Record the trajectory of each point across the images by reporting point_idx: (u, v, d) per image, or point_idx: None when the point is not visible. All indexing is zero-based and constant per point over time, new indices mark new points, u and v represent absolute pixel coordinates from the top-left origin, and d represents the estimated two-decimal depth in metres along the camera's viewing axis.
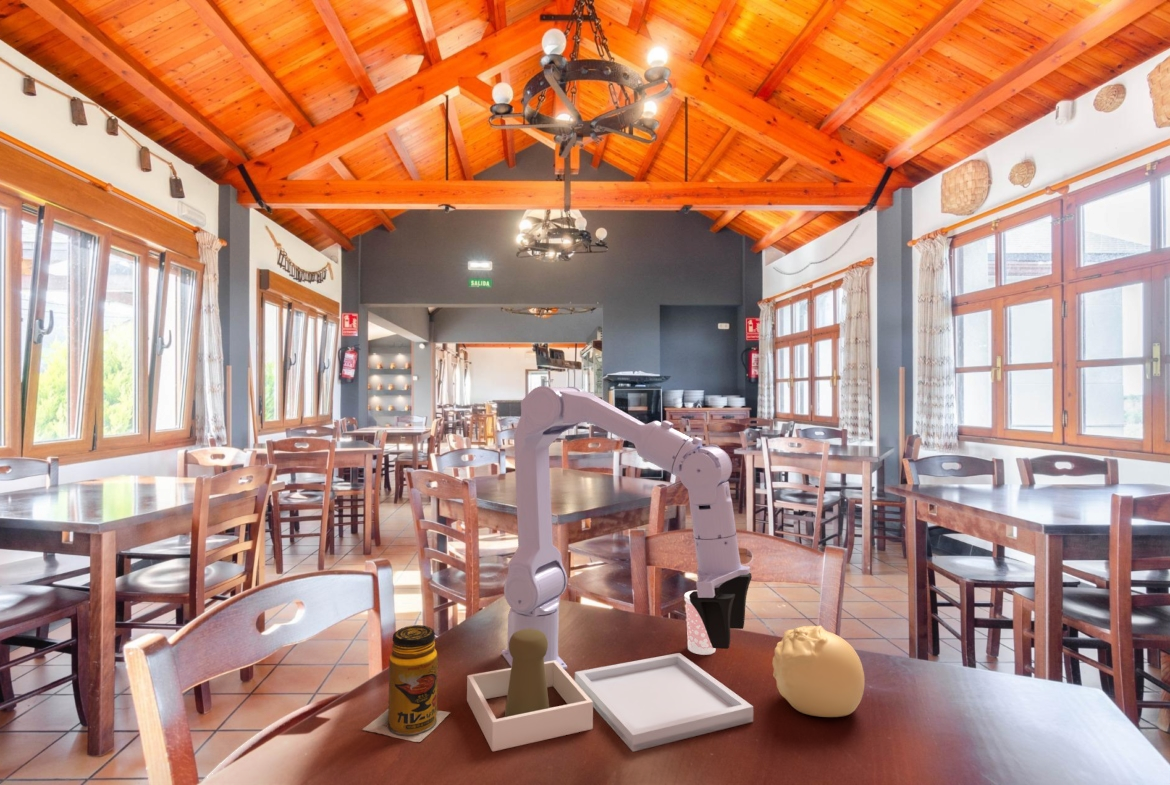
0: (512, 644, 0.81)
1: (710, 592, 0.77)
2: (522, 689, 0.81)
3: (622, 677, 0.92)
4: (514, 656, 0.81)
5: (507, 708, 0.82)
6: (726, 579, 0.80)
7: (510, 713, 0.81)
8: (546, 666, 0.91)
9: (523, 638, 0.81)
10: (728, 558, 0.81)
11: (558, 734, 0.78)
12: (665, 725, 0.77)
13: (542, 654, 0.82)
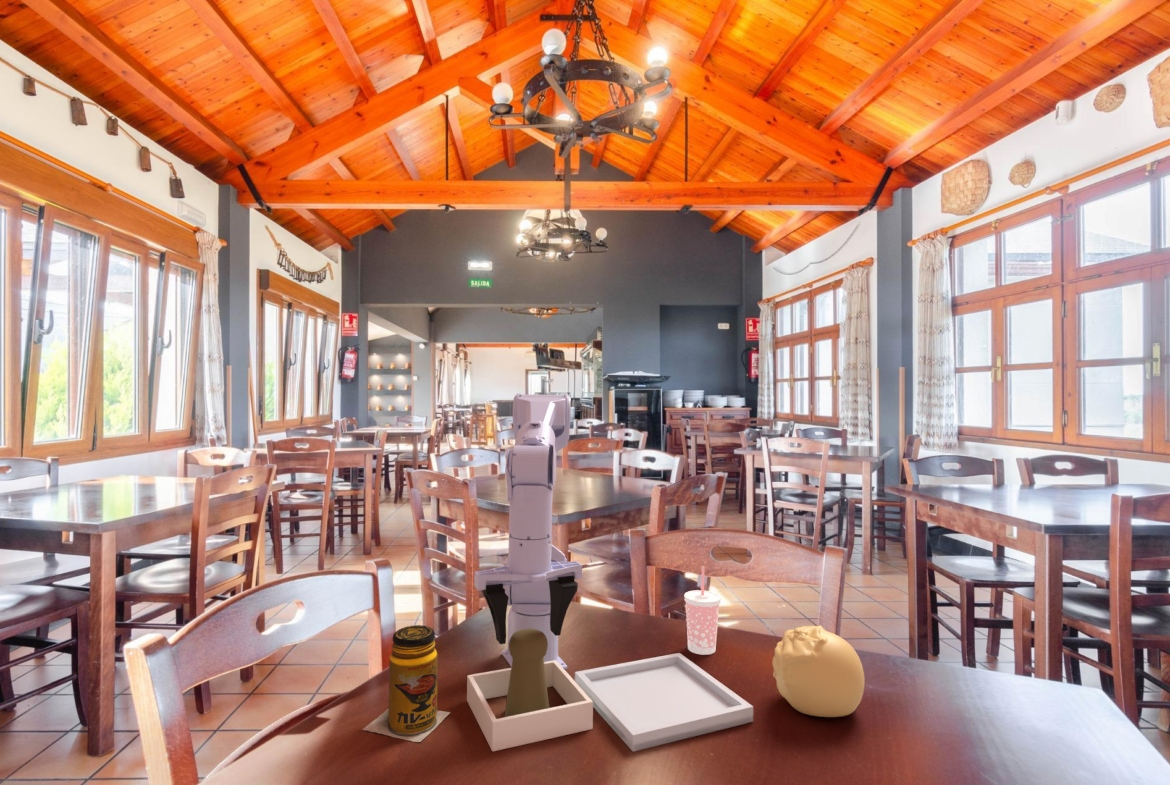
0: (512, 644, 0.81)
1: (477, 585, 0.79)
2: (522, 689, 0.81)
3: (622, 677, 0.92)
4: (514, 656, 0.81)
5: (507, 708, 0.82)
6: (507, 579, 0.80)
7: (510, 713, 0.81)
8: (546, 666, 0.91)
9: (523, 638, 0.81)
10: (520, 560, 0.80)
11: (558, 734, 0.78)
12: (665, 725, 0.77)
13: (542, 654, 0.82)
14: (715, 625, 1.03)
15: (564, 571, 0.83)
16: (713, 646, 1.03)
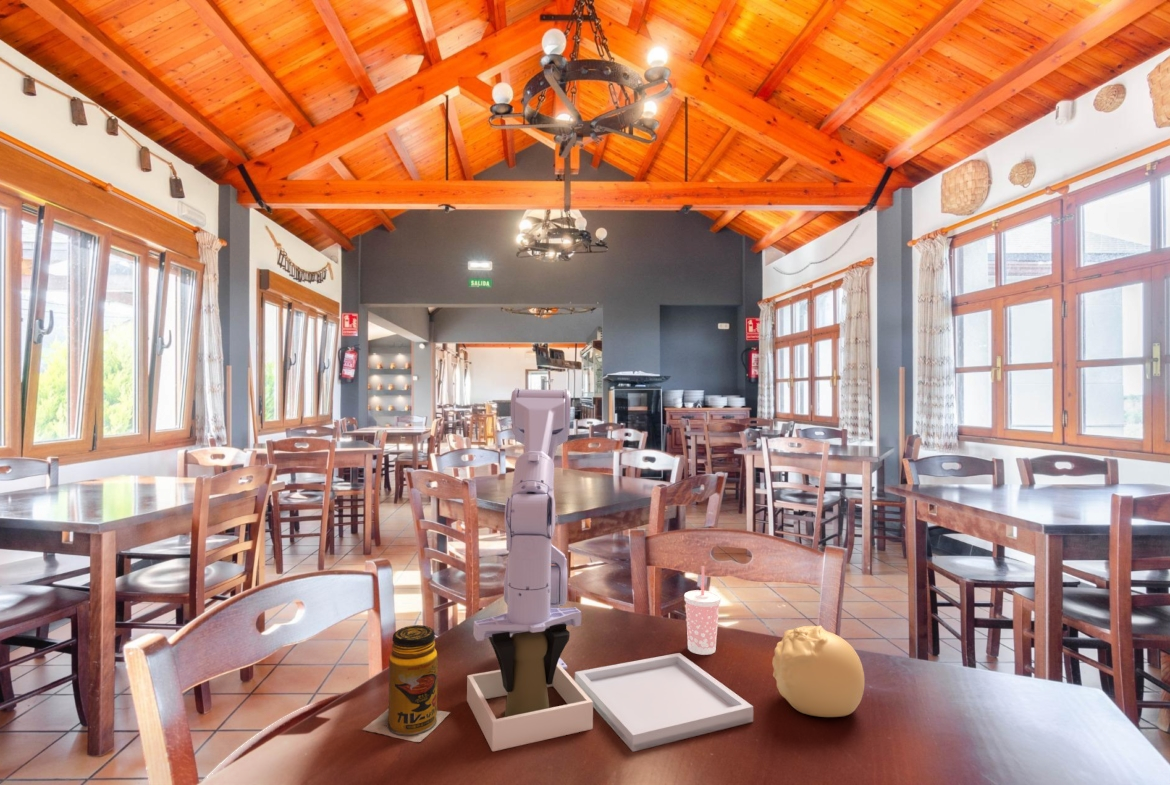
0: None
1: (476, 635, 0.79)
2: (522, 689, 0.81)
3: (622, 677, 0.92)
4: (514, 656, 0.81)
5: (507, 708, 0.82)
6: (506, 629, 0.80)
7: (510, 713, 0.81)
8: None
9: (523, 638, 0.81)
10: (519, 610, 0.80)
11: (558, 734, 0.78)
12: (665, 725, 0.77)
13: (542, 654, 0.82)
14: (715, 625, 1.03)
15: (563, 619, 0.83)
16: (713, 646, 1.03)
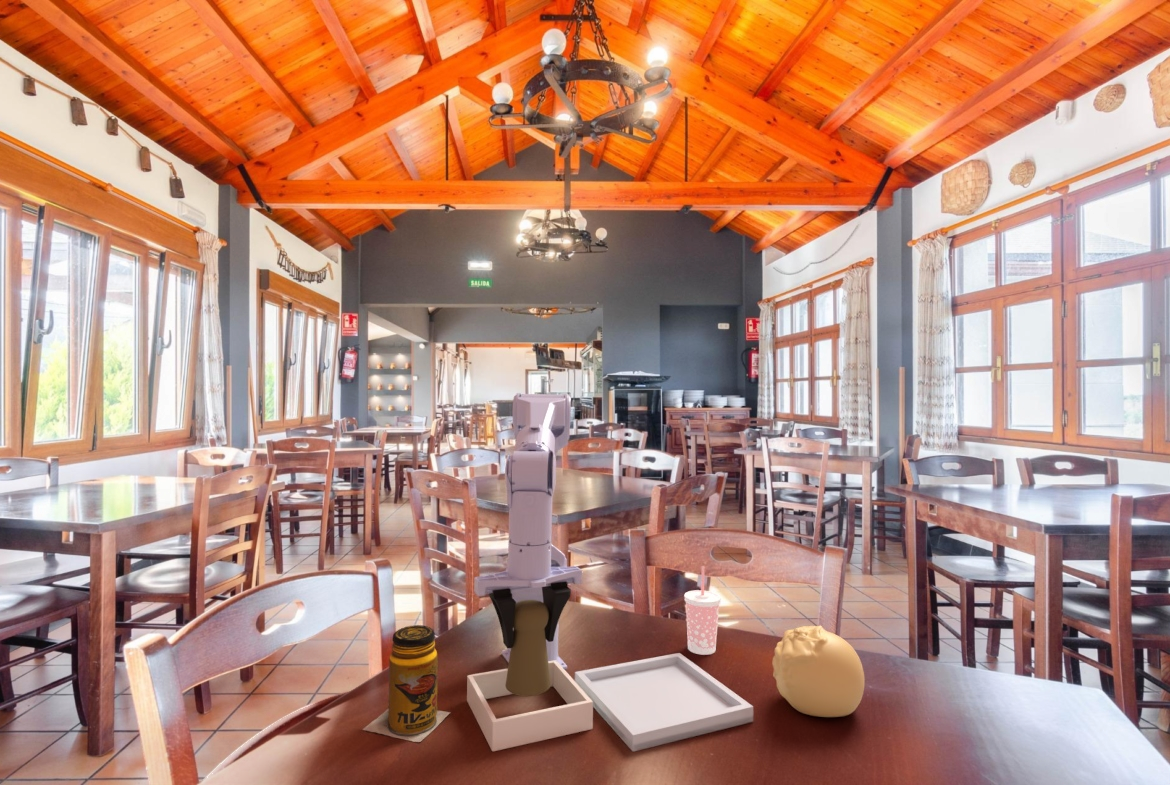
0: None
1: (477, 590, 0.79)
2: (523, 659, 0.81)
3: (622, 677, 0.92)
4: (515, 626, 0.81)
5: (508, 678, 0.82)
6: (506, 584, 0.80)
7: (511, 683, 0.81)
8: None
9: (524, 608, 0.81)
10: (520, 565, 0.80)
11: (558, 734, 0.78)
12: (665, 725, 0.77)
13: (543, 624, 0.82)
14: (715, 625, 1.03)
15: (564, 576, 0.83)
16: (713, 646, 1.03)
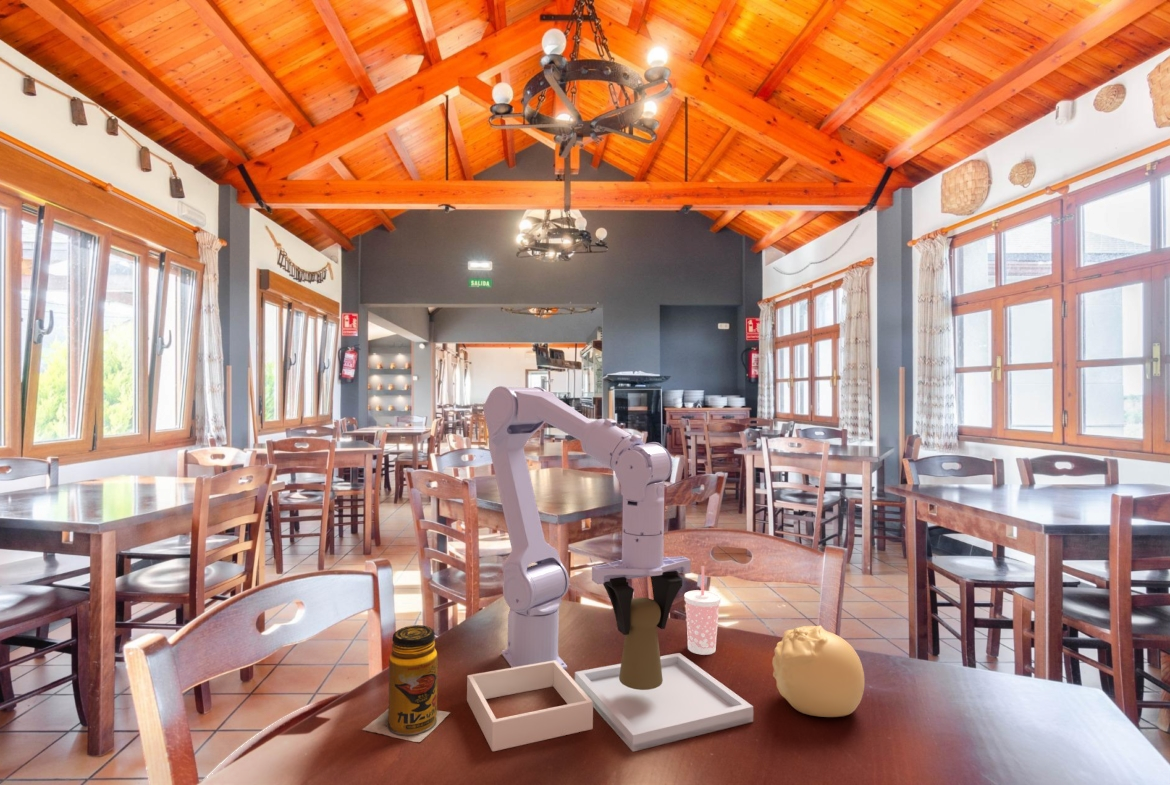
0: (630, 611, 0.84)
1: (596, 579, 0.82)
2: (641, 654, 0.84)
3: None
4: (633, 623, 0.84)
5: (624, 674, 0.84)
6: (624, 573, 0.83)
7: (629, 678, 0.84)
8: (546, 666, 0.91)
9: (641, 606, 0.84)
10: (636, 555, 0.83)
11: (558, 734, 0.78)
12: (665, 725, 0.77)
13: (658, 620, 0.85)
14: (715, 625, 1.03)
15: (675, 566, 0.86)
16: (713, 646, 1.03)
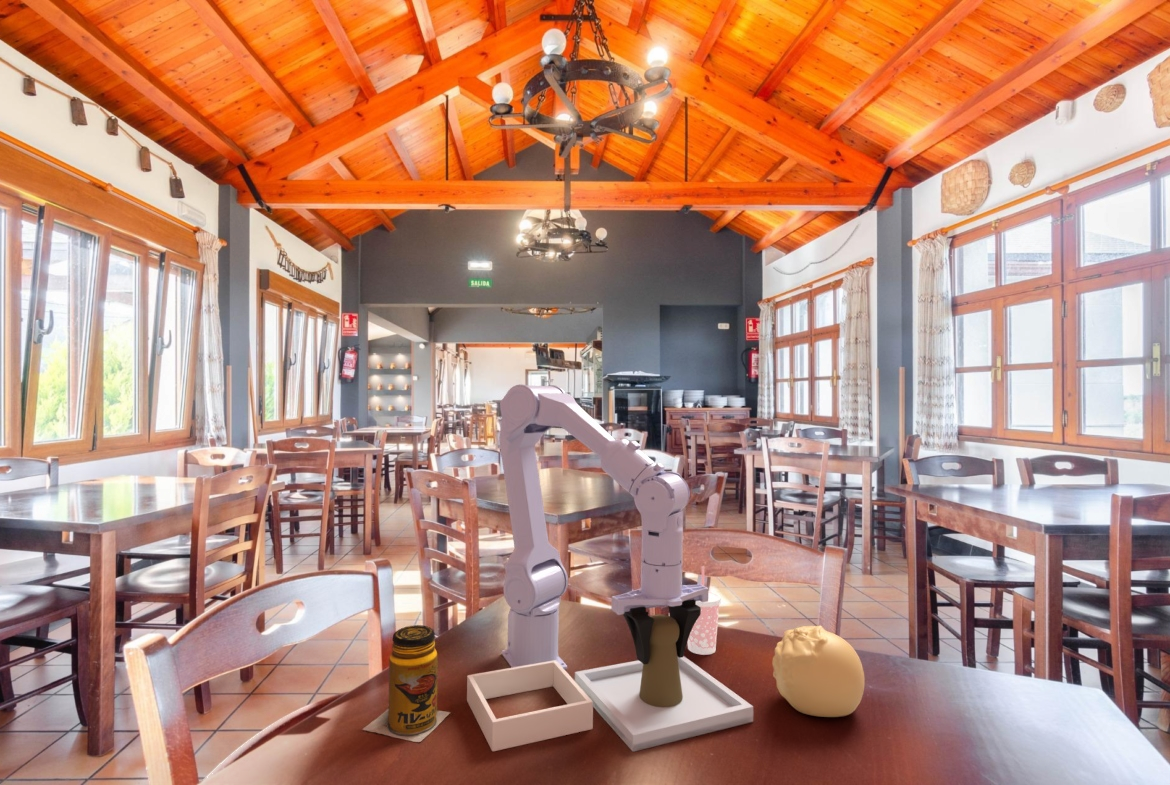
0: None
1: (617, 609, 0.83)
2: (662, 672, 0.84)
3: (622, 677, 0.92)
4: (652, 641, 0.85)
5: (645, 692, 0.85)
6: (644, 603, 0.83)
7: (650, 696, 0.85)
8: (546, 666, 0.91)
9: (660, 624, 0.85)
10: (656, 585, 0.84)
11: (558, 734, 0.78)
12: (665, 725, 0.77)
13: (677, 637, 0.85)
14: (715, 625, 1.03)
15: (694, 595, 0.87)
16: (713, 646, 1.03)
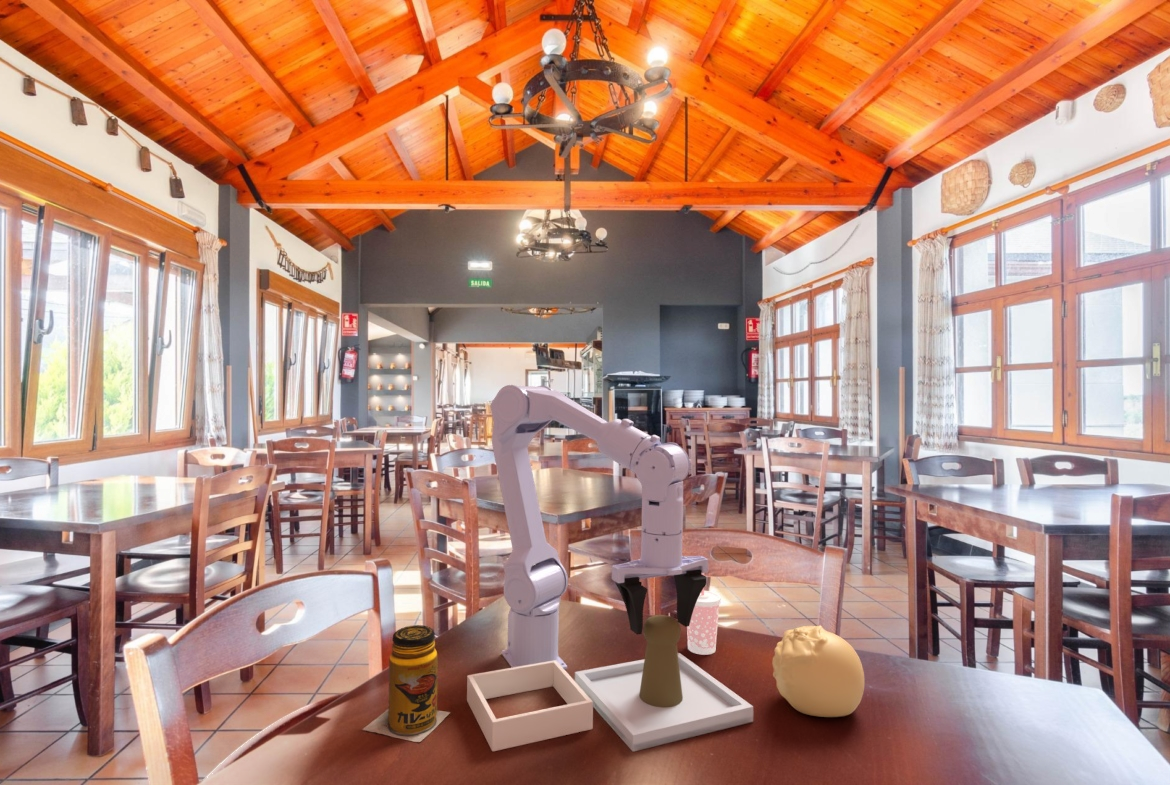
0: (651, 629, 0.85)
1: (617, 578, 0.83)
2: (662, 672, 0.84)
3: (622, 677, 0.92)
4: (653, 641, 0.85)
5: (645, 692, 0.85)
6: (644, 572, 0.84)
7: (650, 696, 0.85)
8: (546, 666, 0.91)
9: (661, 624, 0.85)
10: (656, 554, 0.84)
11: (558, 734, 0.78)
12: (665, 725, 0.77)
13: (679, 638, 0.86)
14: (715, 625, 1.03)
15: (694, 565, 0.87)
16: (713, 646, 1.03)
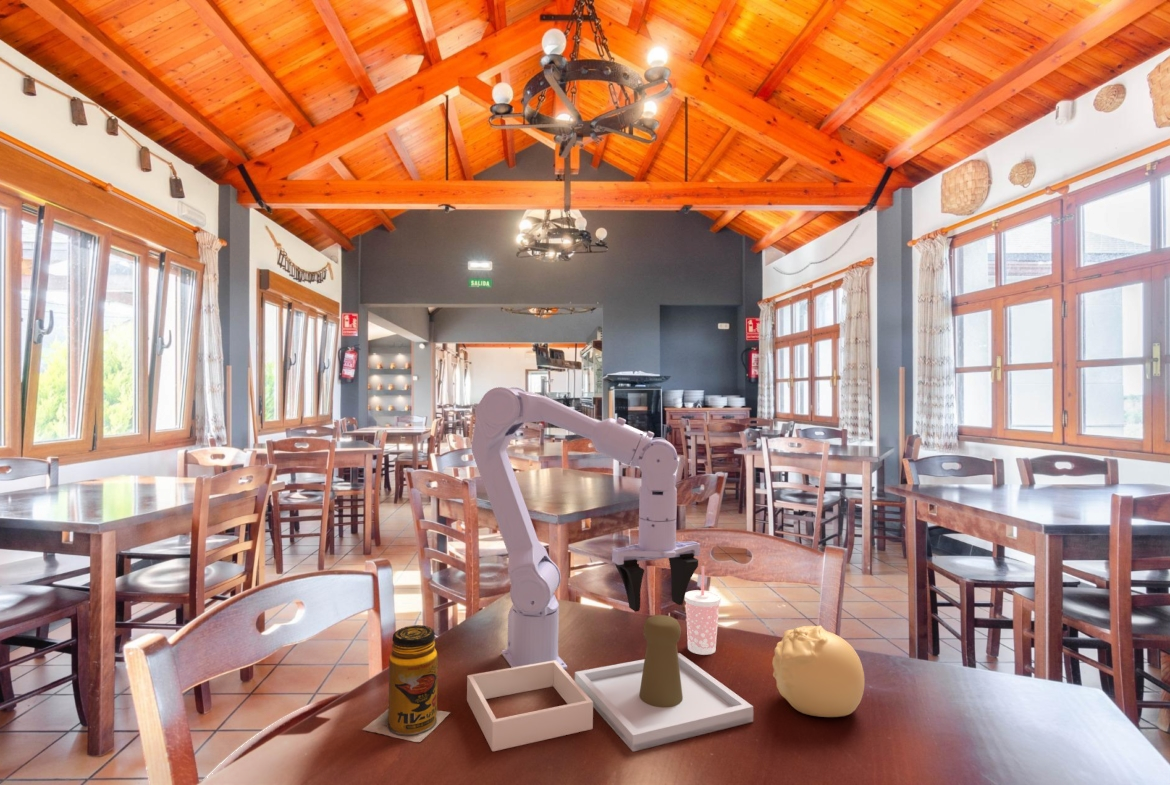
0: (651, 629, 0.85)
1: (617, 560, 0.92)
2: (662, 672, 0.84)
3: (622, 677, 0.92)
4: (653, 641, 0.85)
5: (645, 692, 0.85)
6: (642, 555, 0.92)
7: (650, 696, 0.85)
8: (546, 666, 0.91)
9: (661, 624, 0.85)
10: (652, 538, 0.93)
11: (558, 734, 0.78)
12: (665, 725, 0.77)
13: (679, 638, 0.86)
14: (715, 625, 1.03)
15: (687, 549, 0.96)
16: (713, 646, 1.03)
